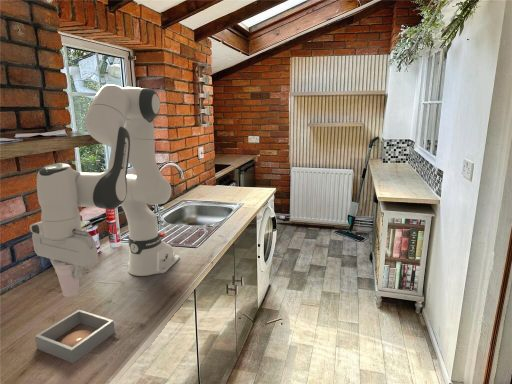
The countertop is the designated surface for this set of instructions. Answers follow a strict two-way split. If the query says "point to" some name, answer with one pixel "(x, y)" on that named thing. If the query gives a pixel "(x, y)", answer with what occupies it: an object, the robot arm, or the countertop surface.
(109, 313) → the countertop surface
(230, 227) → the countertop surface
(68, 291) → the smoothie
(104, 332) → the grey open tray
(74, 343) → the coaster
